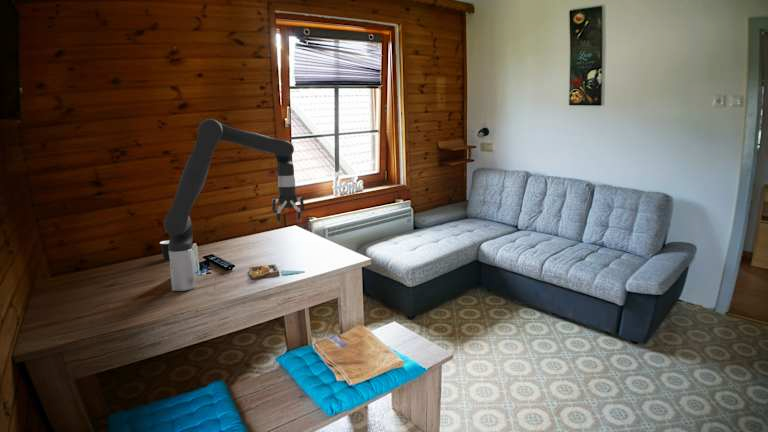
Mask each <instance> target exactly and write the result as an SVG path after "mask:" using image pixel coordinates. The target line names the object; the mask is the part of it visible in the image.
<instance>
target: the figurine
mask: <svg viewBox="0 0 768 432" xmlns="http://www.w3.org/2000/svg"><path fill="white" fill-rule="evenodd" d="M262 266H263V267H262V268H261V270H259V269H258V270H257V271H253V273H252V274H251V271H252V270H251V271H250V270H249V275H250V276H251V275H252V276H253V277H257V276H262V275H264V274H266V273H267V272H271V268H269V267H268V266H265V265H262ZM261 273H264V274H261Z"/></svg>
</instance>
